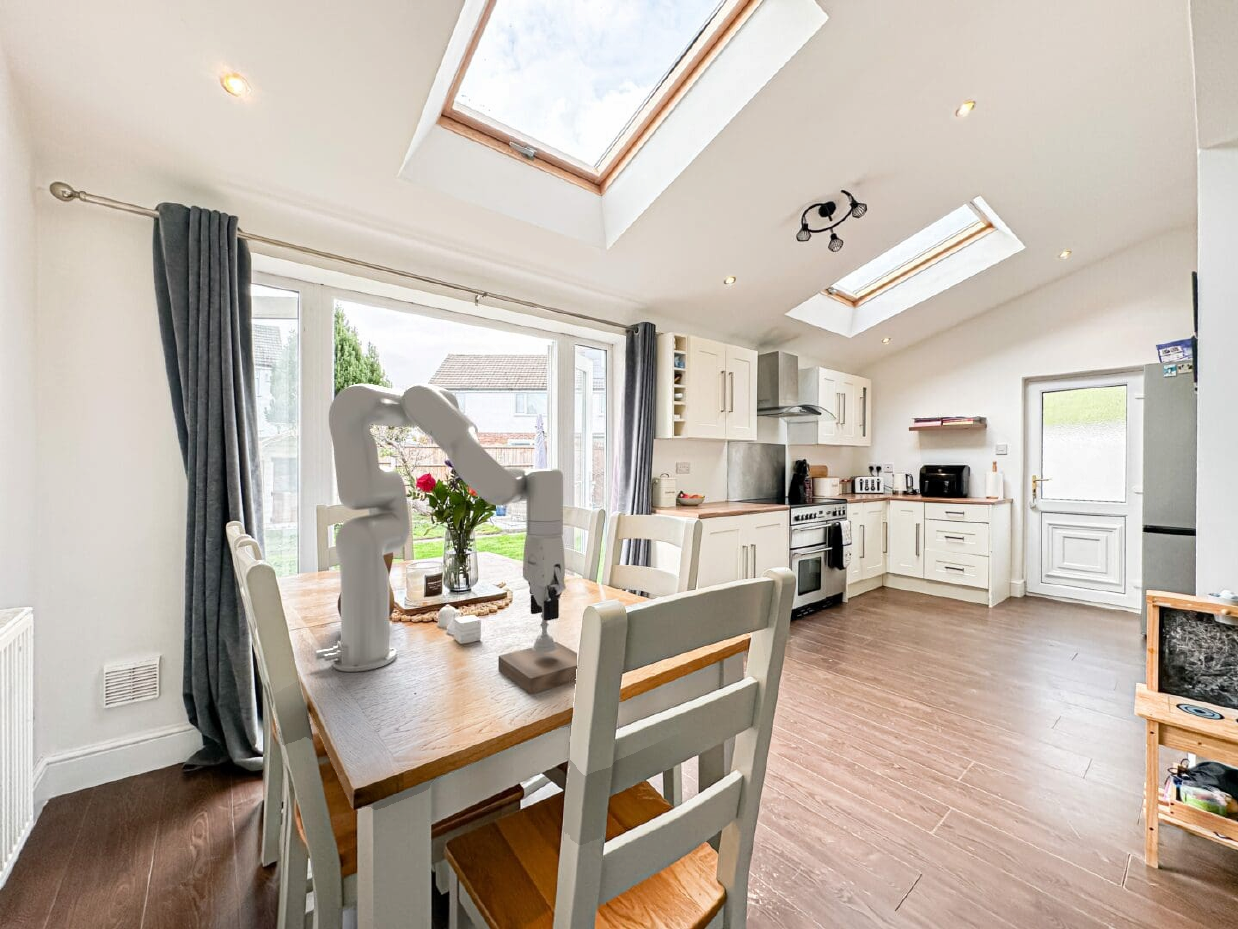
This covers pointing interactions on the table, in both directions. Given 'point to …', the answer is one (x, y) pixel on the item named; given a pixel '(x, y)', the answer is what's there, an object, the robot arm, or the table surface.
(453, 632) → the container set
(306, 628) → the table surface
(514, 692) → the table surface
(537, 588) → the chalice
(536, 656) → the walnut plinth
